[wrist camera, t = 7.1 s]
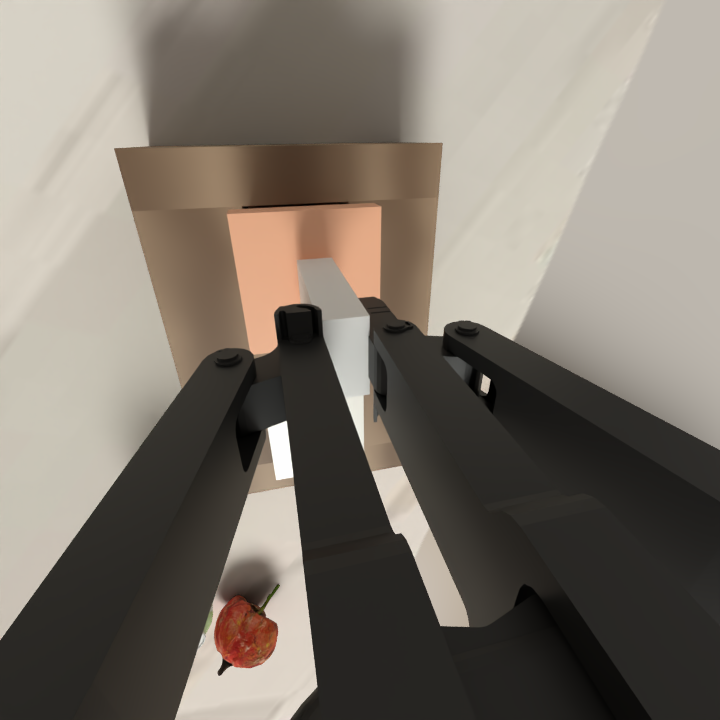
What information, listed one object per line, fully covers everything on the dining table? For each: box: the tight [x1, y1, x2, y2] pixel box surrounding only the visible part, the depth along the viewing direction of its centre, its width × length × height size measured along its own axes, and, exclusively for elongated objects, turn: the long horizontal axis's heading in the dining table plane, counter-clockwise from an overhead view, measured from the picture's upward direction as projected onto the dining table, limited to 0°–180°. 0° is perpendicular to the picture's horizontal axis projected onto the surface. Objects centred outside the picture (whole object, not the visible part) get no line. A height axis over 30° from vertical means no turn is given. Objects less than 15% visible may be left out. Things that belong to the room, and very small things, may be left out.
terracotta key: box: [227, 202, 381, 355], centre depth 21 cm, size 6×6×8 cm
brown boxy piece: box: [114, 142, 443, 494], centre depth 28 cm, size 16×23×7 cm
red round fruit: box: [214, 584, 280, 676], centre depth 44 cm, size 7×7×10 cm
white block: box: [268, 395, 364, 480], centre depth 30 cm, size 6×6×8 cm
